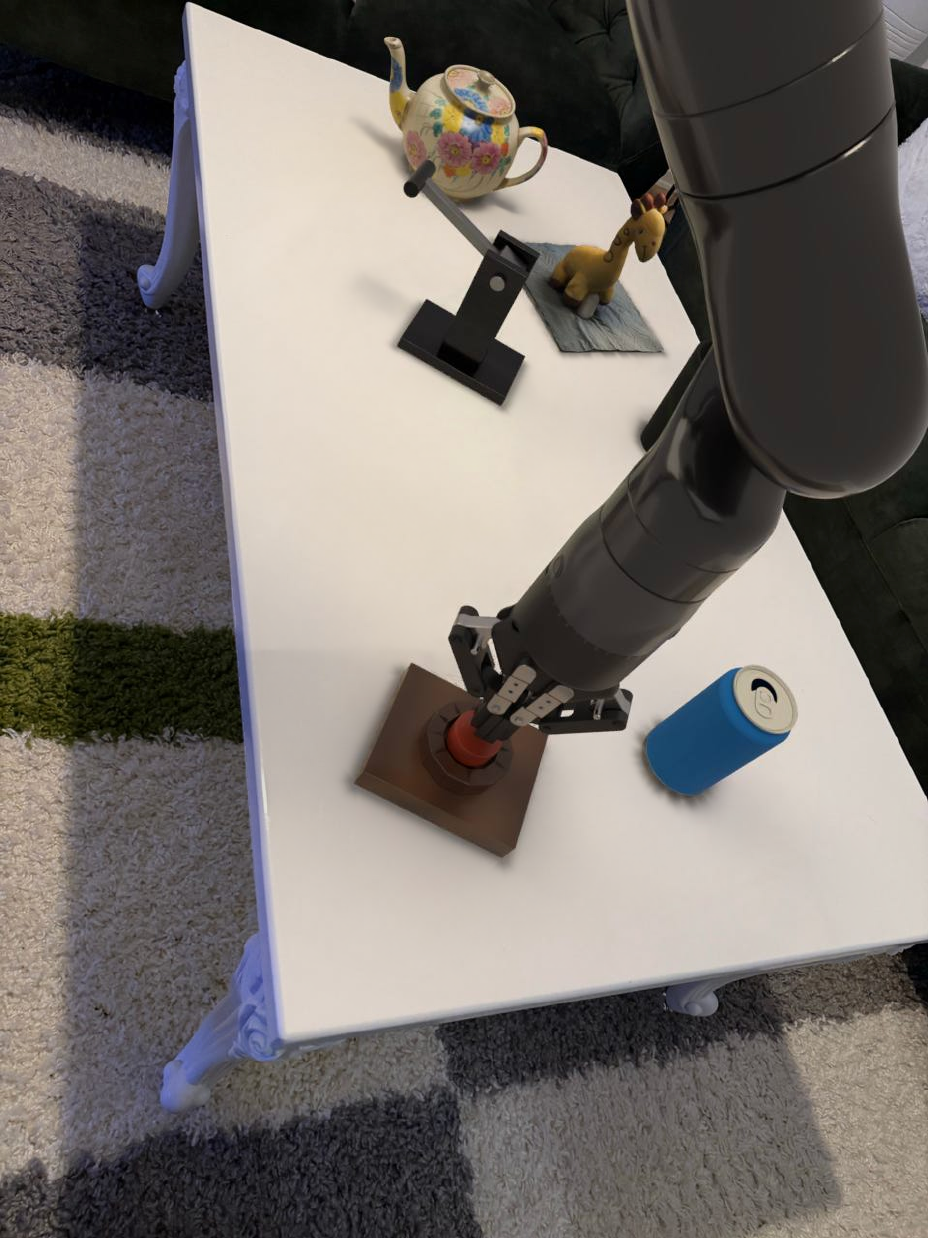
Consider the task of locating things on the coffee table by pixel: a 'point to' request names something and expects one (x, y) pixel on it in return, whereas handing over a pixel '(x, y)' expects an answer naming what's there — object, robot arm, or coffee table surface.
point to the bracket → (475, 325)
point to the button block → (450, 765)
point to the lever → (453, 211)
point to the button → (469, 743)
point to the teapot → (460, 128)
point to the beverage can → (722, 729)
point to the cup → (673, 396)
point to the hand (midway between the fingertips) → (485, 728)
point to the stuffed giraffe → (598, 285)
